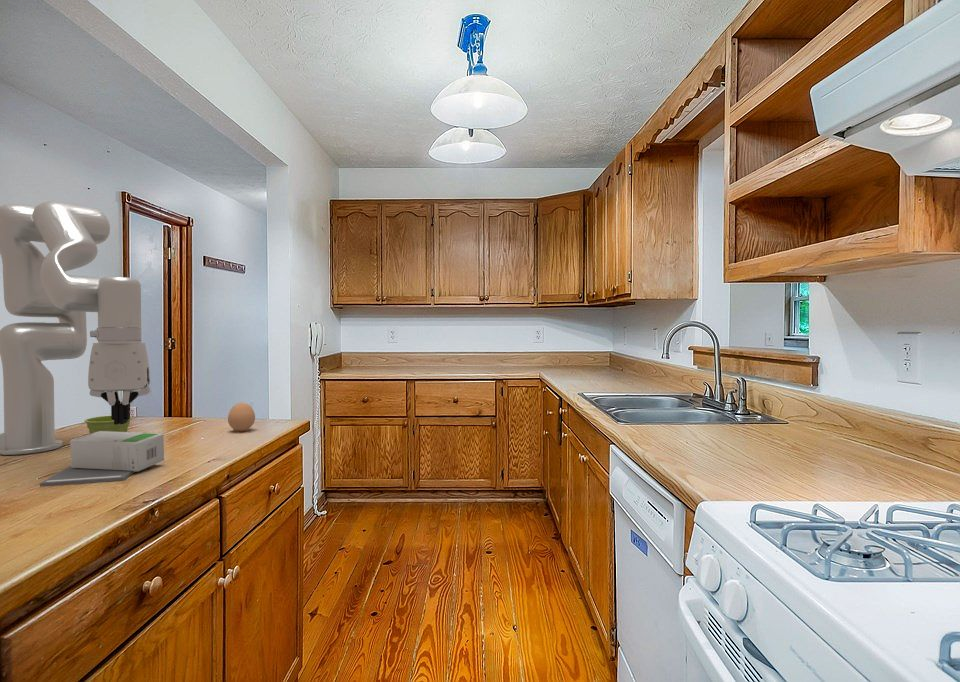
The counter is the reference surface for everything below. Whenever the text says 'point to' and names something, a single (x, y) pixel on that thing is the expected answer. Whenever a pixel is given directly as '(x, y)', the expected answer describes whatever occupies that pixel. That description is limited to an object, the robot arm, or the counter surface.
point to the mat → (85, 476)
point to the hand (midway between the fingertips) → (120, 423)
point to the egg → (241, 417)
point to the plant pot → (105, 424)
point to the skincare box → (117, 450)
